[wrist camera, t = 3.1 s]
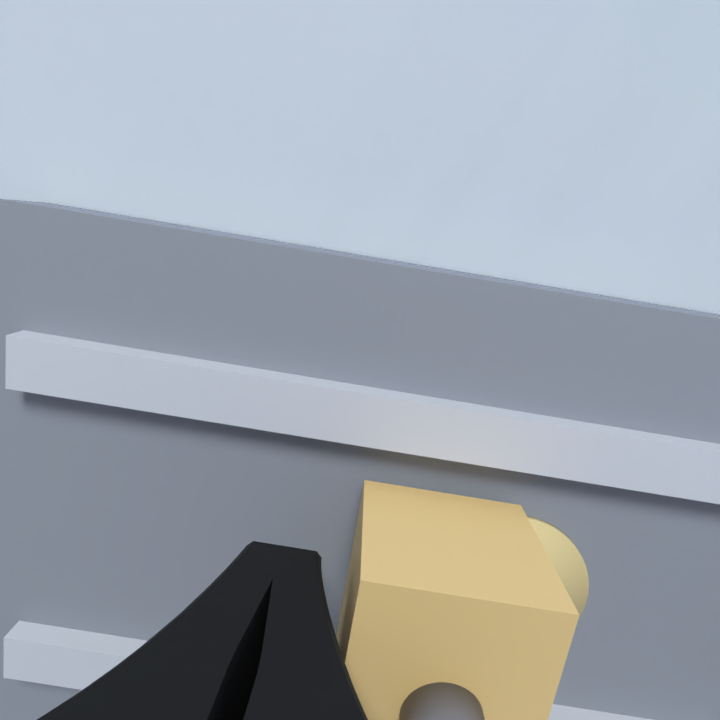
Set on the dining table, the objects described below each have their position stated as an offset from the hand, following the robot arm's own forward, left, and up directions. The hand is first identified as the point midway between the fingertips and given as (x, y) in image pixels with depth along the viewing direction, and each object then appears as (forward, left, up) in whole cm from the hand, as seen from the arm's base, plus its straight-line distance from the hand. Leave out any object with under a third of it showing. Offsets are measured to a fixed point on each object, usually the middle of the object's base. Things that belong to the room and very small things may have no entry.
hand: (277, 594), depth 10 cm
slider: (-3, 0, -1) cm, 3 cm away
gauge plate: (-3, 0, -3) cm, 5 cm away
